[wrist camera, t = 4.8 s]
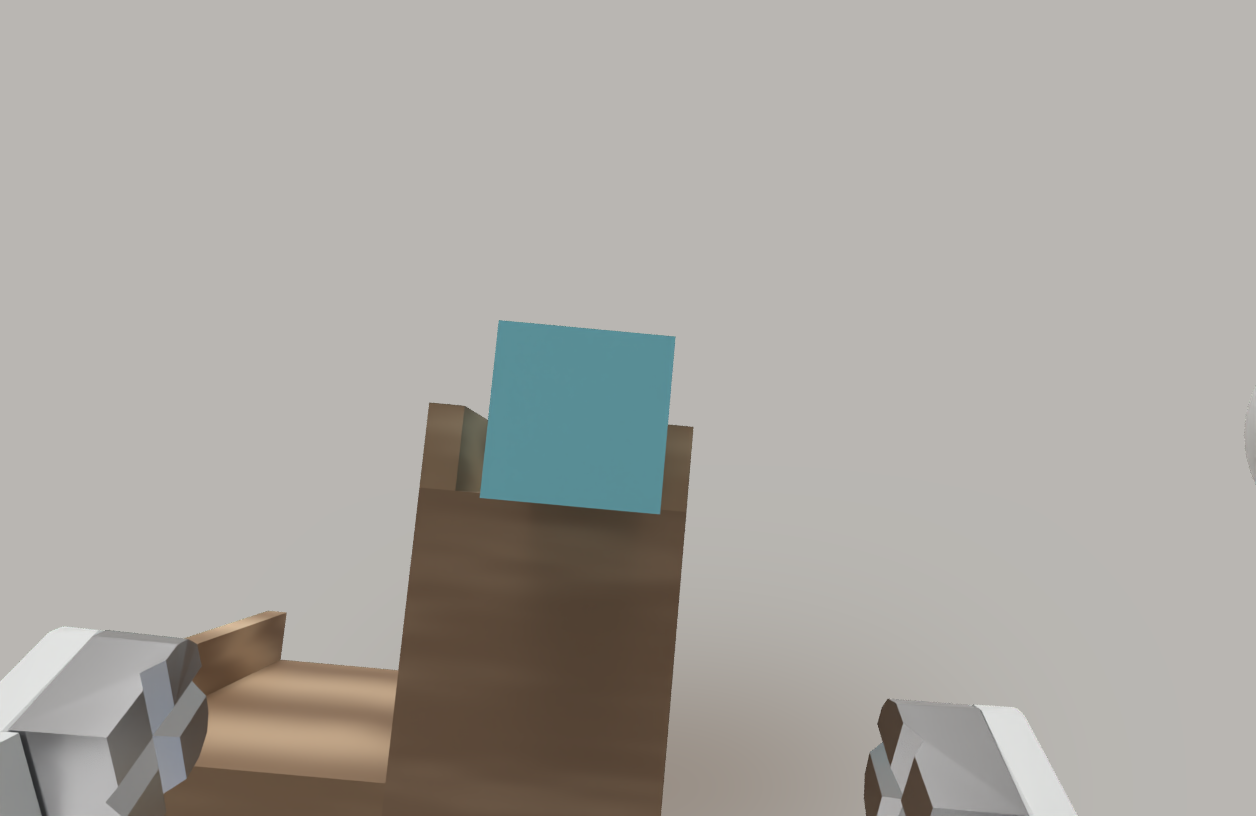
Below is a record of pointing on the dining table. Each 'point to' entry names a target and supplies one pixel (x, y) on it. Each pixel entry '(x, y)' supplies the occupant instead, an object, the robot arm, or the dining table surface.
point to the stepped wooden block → (468, 667)
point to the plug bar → (578, 417)
